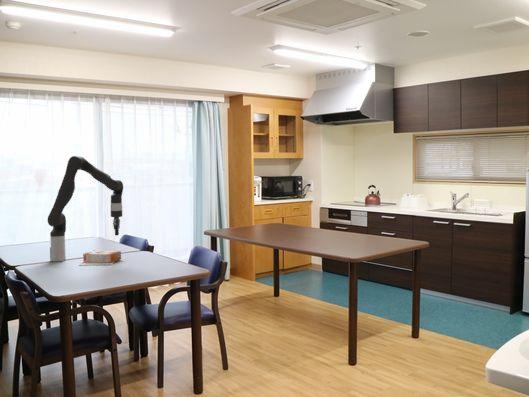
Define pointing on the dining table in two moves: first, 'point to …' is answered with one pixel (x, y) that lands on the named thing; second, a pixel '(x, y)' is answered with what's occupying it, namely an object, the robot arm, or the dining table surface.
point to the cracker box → (102, 256)
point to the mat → (96, 263)
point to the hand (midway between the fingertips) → (116, 235)
